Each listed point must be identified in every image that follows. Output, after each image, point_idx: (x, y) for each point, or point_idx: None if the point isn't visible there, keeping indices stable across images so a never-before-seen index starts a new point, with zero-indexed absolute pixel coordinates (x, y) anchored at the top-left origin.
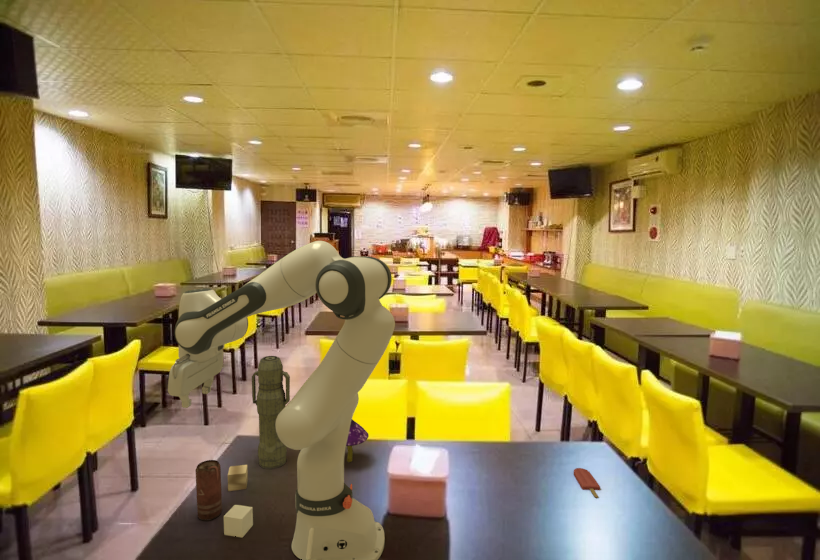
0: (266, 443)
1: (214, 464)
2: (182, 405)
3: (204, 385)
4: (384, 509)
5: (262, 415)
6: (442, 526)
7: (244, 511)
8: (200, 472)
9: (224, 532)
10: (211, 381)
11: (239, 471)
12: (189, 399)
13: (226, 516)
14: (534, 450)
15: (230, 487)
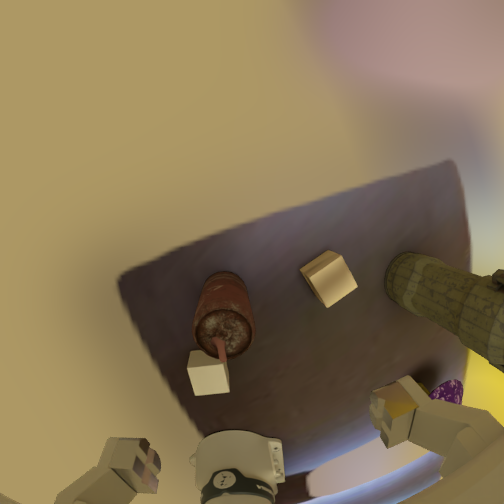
0: (415, 298)
1: (237, 342)
2: (109, 446)
3: (421, 414)
4: (315, 467)
5: (459, 313)
6: (300, 500)
7: (213, 388)
8: (193, 334)
9: (190, 353)
10: (442, 455)
11: (329, 291)
12: (147, 487)
13: (189, 371)
14: (427, 482)
15: (303, 274)
